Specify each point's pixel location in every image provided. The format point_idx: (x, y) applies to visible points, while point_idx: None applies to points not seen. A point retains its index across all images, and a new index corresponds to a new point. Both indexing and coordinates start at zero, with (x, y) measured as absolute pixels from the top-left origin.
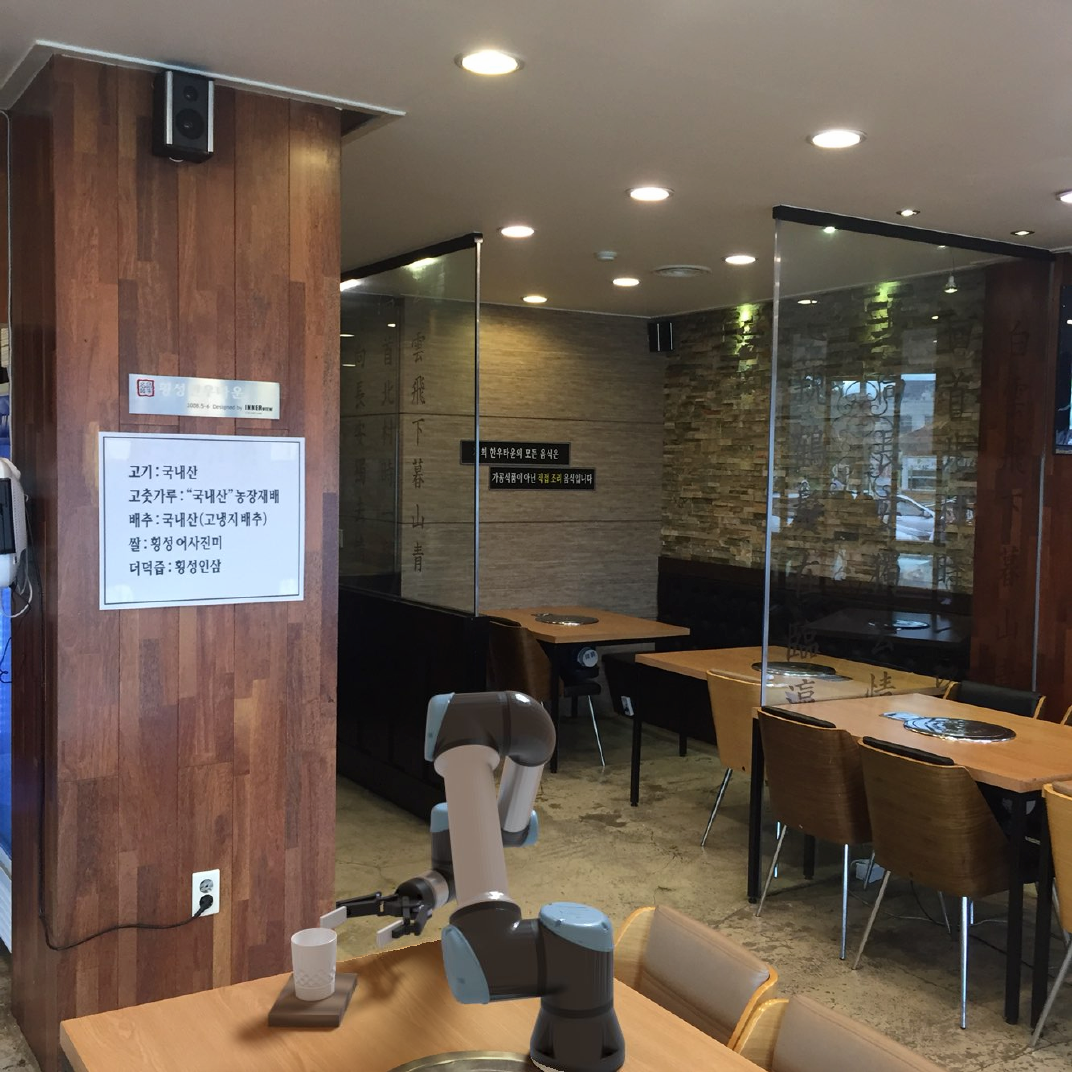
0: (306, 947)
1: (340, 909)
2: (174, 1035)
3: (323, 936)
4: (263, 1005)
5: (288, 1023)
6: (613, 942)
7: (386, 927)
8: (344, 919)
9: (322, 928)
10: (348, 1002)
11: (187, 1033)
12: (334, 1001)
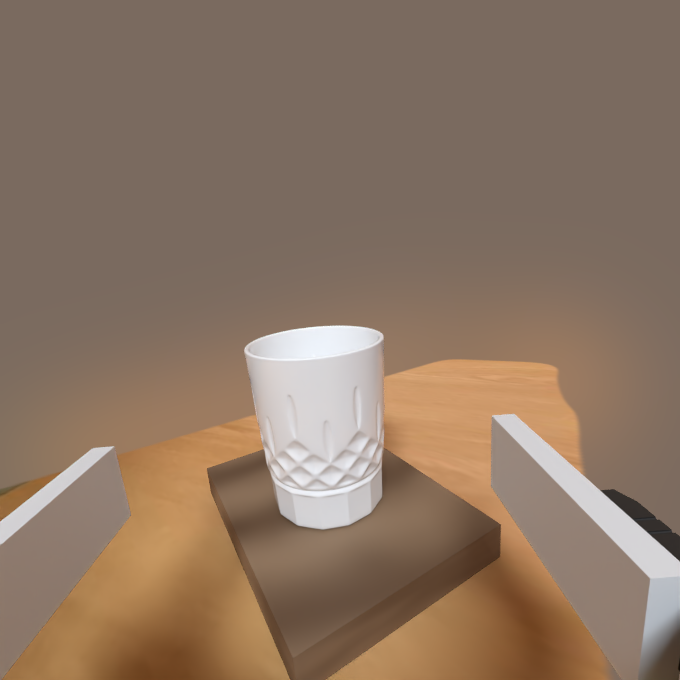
0: (293, 333)
1: (594, 517)
2: (439, 392)
3: (333, 380)
4: (430, 468)
5: None
6: None
7: (53, 495)
8: (612, 646)
9: (337, 354)
10: (238, 553)
11: (431, 398)
12: (250, 492)
